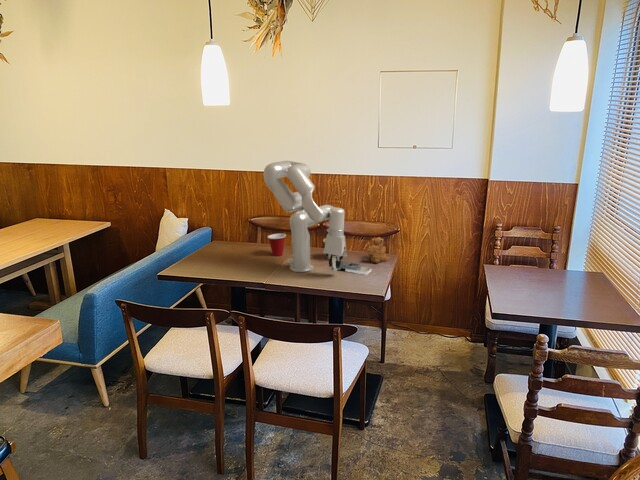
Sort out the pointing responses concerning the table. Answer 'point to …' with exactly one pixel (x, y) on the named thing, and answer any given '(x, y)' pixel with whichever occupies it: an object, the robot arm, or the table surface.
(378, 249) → the teddy bear
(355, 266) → the gray white flat block
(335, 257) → the steel pin
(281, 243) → the plastic cup
